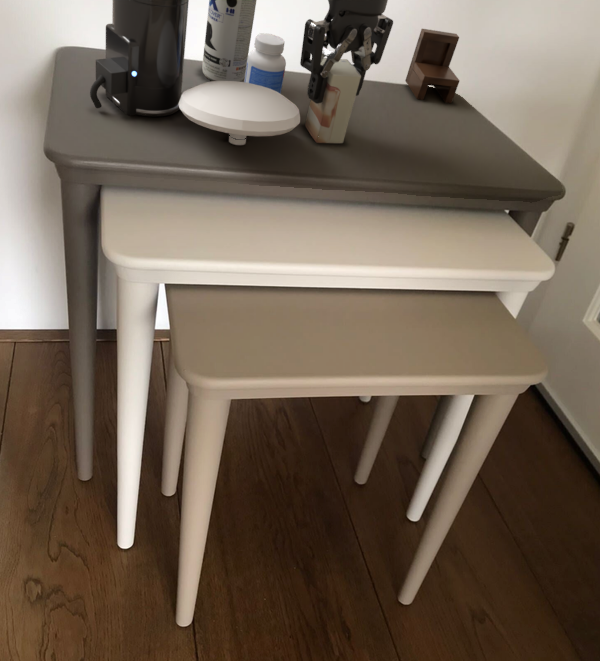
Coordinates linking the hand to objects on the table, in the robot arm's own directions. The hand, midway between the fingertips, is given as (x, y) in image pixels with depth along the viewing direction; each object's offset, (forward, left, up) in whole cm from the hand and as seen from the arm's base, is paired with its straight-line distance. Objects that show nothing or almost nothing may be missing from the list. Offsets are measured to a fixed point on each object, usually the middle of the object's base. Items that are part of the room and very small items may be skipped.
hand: (333, 96), depth 91 cm
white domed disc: (-13, +4, +2) cm, 14 cm away
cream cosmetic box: (0, 0, -6) cm, 6 cm away
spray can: (-3, +20, -6) cm, 21 cm away
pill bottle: (-4, +10, -6) cm, 12 cm away
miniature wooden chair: (+30, +5, -6) cm, 31 cm away
